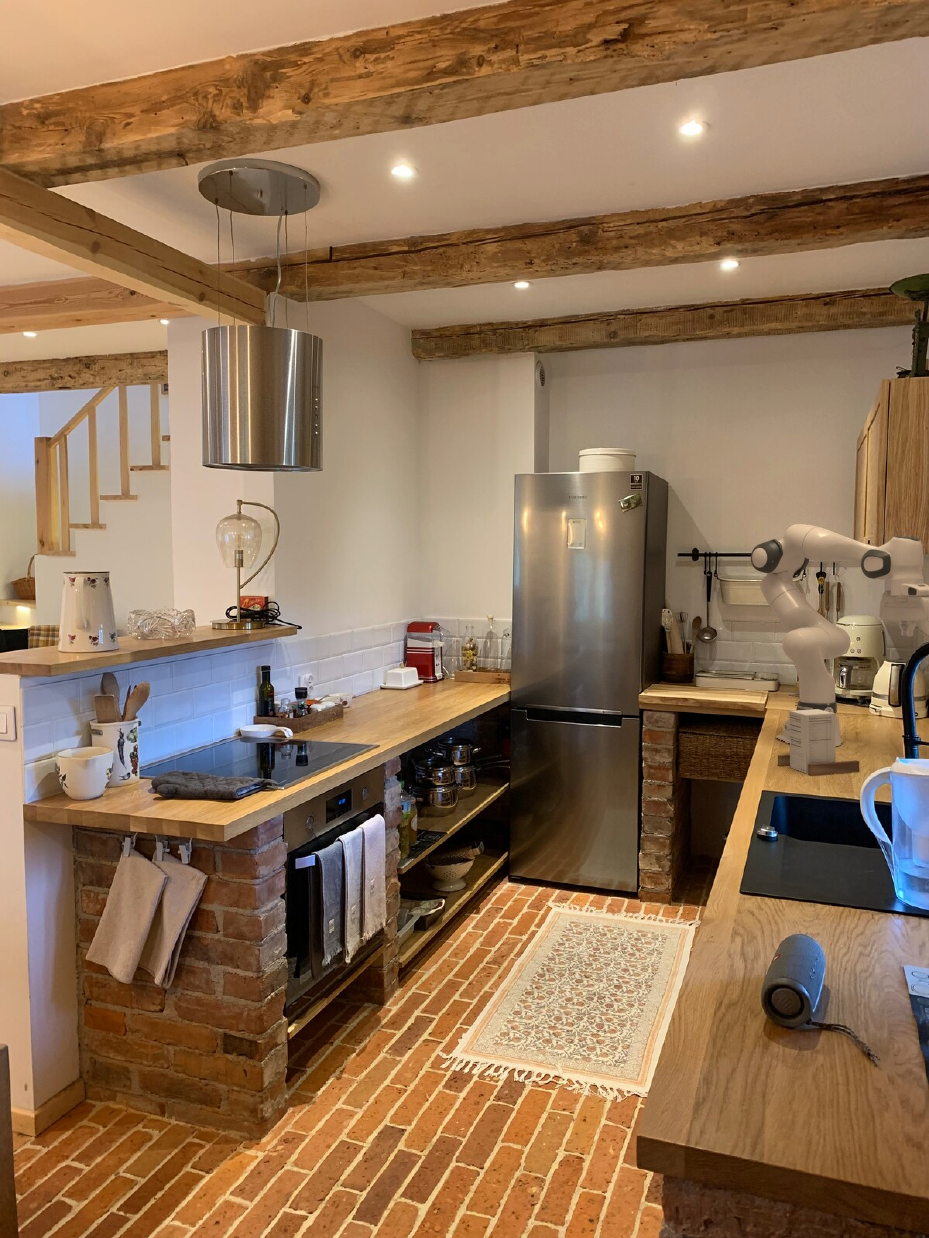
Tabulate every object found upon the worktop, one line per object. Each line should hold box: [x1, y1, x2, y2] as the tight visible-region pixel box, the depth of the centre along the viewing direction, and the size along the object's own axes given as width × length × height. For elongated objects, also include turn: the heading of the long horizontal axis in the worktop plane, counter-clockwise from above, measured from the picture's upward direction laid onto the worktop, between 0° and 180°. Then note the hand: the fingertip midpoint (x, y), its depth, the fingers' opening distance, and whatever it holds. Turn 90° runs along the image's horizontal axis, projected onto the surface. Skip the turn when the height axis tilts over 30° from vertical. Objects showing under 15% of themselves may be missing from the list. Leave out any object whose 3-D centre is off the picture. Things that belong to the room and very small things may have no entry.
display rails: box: [777, 753, 860, 777], centre depth 260 cm, size 16×16×3 cm
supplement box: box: [788, 709, 837, 774], centre depth 258 cm, size 10×9×17 cm
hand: (907, 636), depth 268 cm, fingers closed
